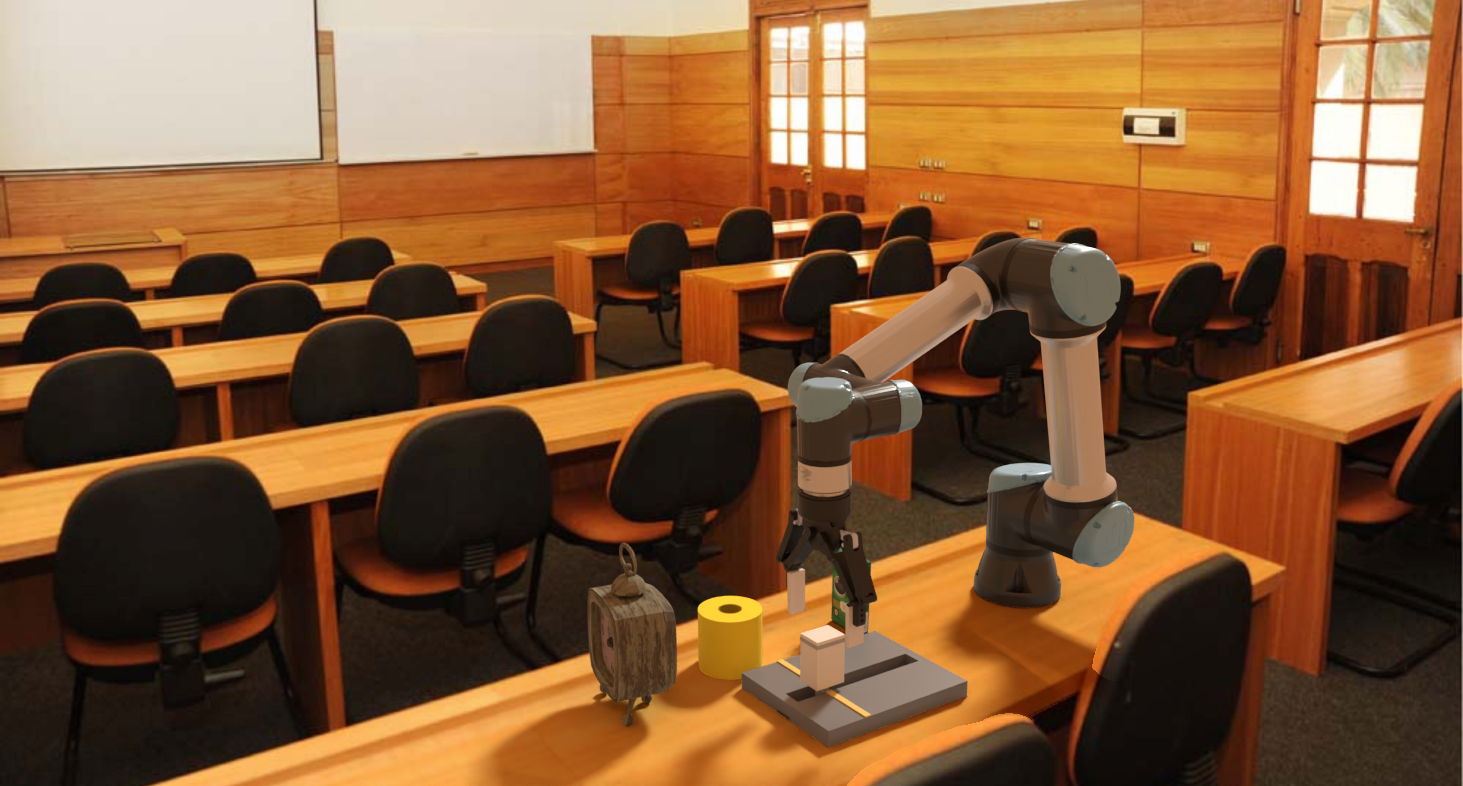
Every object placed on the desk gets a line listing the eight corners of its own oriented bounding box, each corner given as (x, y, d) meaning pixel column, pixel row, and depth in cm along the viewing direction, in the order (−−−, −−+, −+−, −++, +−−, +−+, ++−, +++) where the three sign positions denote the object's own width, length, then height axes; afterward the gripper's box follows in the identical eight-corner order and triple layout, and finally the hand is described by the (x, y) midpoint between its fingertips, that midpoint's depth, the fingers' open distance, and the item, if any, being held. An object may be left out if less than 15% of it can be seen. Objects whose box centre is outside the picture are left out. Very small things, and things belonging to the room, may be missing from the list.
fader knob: (826, 688, 188) (827, 624, 186) (844, 699, 185) (845, 634, 183) (799, 697, 186) (800, 633, 183) (816, 708, 182) (817, 643, 180)
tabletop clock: (589, 690, 190) (584, 533, 184) (646, 678, 193) (643, 524, 187) (620, 734, 177) (615, 567, 171) (680, 721, 180) (678, 557, 174)
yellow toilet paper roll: (772, 657, 200) (772, 602, 198) (746, 684, 191) (746, 626, 189) (715, 646, 204) (715, 591, 202) (687, 672, 195) (686, 615, 193)
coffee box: (870, 635, 208) (872, 560, 205) (855, 638, 207) (857, 563, 203) (844, 617, 215) (846, 544, 212) (830, 620, 214) (831, 547, 210)
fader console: (874, 645, 204) (875, 629, 204) (966, 696, 187) (967, 679, 187) (741, 688, 190) (741, 671, 189) (828, 747, 173) (828, 729, 173)
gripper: (751, 471, 185) (753, 605, 191) (860, 518, 165) (859, 667, 171) (792, 461, 189) (793, 593, 195) (904, 507, 169) (901, 652, 175)
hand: (824, 628), depth 183 cm, fingers open, 13 cm apart
